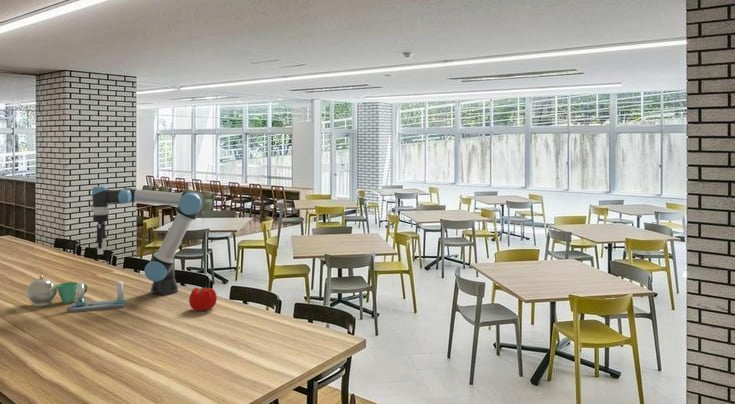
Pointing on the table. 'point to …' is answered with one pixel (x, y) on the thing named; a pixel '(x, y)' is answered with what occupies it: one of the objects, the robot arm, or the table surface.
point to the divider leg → (80, 295)
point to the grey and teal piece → (102, 303)
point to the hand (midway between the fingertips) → (101, 252)
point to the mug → (69, 291)
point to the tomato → (202, 299)
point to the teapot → (42, 292)
